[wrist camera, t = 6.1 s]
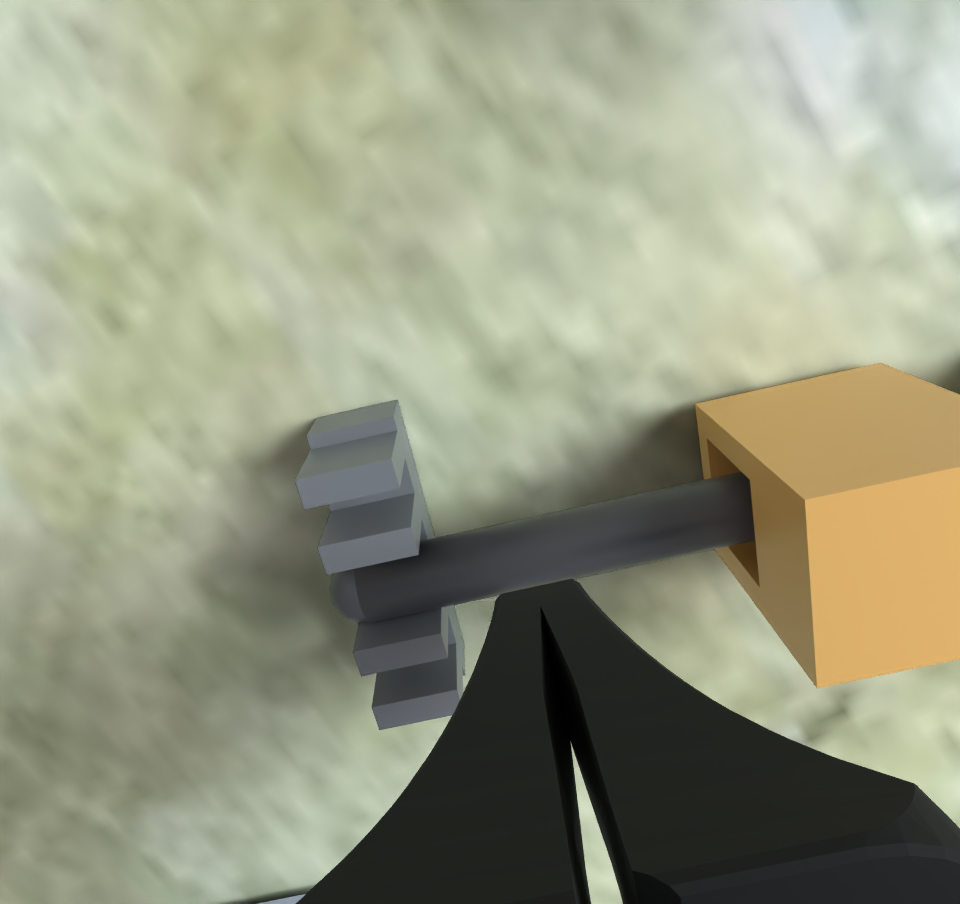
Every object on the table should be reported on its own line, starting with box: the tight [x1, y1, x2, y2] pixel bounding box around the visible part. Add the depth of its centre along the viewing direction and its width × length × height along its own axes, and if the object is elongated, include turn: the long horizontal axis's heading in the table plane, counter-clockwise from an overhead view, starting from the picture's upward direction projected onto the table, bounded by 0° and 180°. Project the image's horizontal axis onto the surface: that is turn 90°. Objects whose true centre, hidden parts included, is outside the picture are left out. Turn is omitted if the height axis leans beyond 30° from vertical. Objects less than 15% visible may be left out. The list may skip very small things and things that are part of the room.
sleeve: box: [695, 363, 960, 688], centre depth 13 cm, size 4×4×5 cm
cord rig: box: [295, 400, 755, 730], centre depth 15 cm, size 18×6×3 cm, turn 102°
